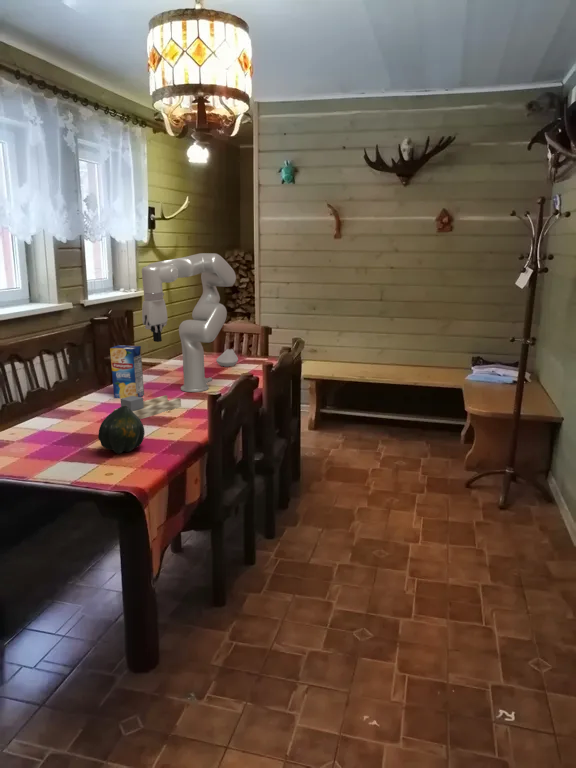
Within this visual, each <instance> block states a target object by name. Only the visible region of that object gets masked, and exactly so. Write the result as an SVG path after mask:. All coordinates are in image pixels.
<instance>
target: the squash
mask: <svg viewBox="0 0 576 768" xmlns="http://www.w3.org/2000/svg"><path fill="white" fill-rule="evenodd" d="M115 409H116V410H115V411H114V410H113V411H112V412H110V413H109V414H108V415H107V416H106V417H105V418H104V419H103V420H102V422H101V423H100V426H99V429H98V436H97V437H98V441H99V442H100V445H101V446H102V447H103V448H104V449H107V450H113V452H114V453H115V454H118V455H119V454H123V452H126V453H127V452H128V453H129V452H131V451H133V450H134V449H135V448H136V449H137V448H138V447H140V446H141V444H142V443H143V440H144V438H145V434H146V433H145V432H146V430H145V428H144V425H143V423H142V419H139V418H138V417H137V416H136V415H135V414H134V413H133V412H132V411H131V409H130V408H129V407H127V406H122V407H121V406H120V407H118V408H115Z"/></svg>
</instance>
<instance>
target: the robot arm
mask: <svg viewBox="0 0 576 768" xmlns="http://www.w3.org/2000/svg"><path fill="white" fill-rule="evenodd" d="M196 275H201V276H200V277H201V285H202V294H201V296H200V298H199V300H198V301H197V303H196V305H194V308H193V310H192V314H191V318H192V319H186V320H183V321H181V323H180V324H179V327H178V335H179V338H180V342H181V343H180V344H181V351H182V369H183V370H182V371H183V374H182V375H183V385H181V386H180V390H181V391H183V392H187V393H198V392H199V393H200V392H205V391H207V390H209V388H210V387H209V386H210V385H208V383H210V382H213V378H212V377H210V376H209V377H205V376H206V374H205V372H206V371H205V352H204V347H203V344H202V343H207V344H208V343H211V342H213V341H215V340H216V338H217V337H218V335H219V333H220V332H221V329H222V328H223V327H224V324H225V323H226V319H227V314H228V311H227V308H226V306H225V305H224V304H222V303H220V300H221V297H220V293H219V291H218V289H217V287H227V288H228V287H232V286H233V285H234V284H236V280H237V276H236V272H235V270H234V269H233V268H232V267H231V265H230V264H229V263H228V262H227V261H226V259H224V258H223V257H222V256H221V255H220V254H218V253H214V252H213V253H211V252H210V253H209V252H208V253H207V252H206V253H205V252H204V253H203V252H201V253H196V254H191V255H189V256H188V255H187V256H184V257H178V258H173V259H165V260H161V261H156V262H151V263H149V264H148V265H147V266H143V267H142V268H141V278H142V289H143V300H144V301H142V306H141V307H142V309H141V312H142V313H141V315H142V316H141V318H142V319H141V321H142V325H143V326H145V327H144V328H145V329H146V330H150V332H151V333H152V338H153V339H152V340H153V342H155V343H156V342H157V343H160V342H163V340H162V332H163V328H164V327H166V326H167V325H168V310H167V309H168V308H167V305H166V301H165V299H164V296H165V293H164V291H163V283H166V284H167V283H172V282H173V283H174V282H176V281H177V280H178V278H179V279H182V278H189V277H192V276H196Z"/></svg>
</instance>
